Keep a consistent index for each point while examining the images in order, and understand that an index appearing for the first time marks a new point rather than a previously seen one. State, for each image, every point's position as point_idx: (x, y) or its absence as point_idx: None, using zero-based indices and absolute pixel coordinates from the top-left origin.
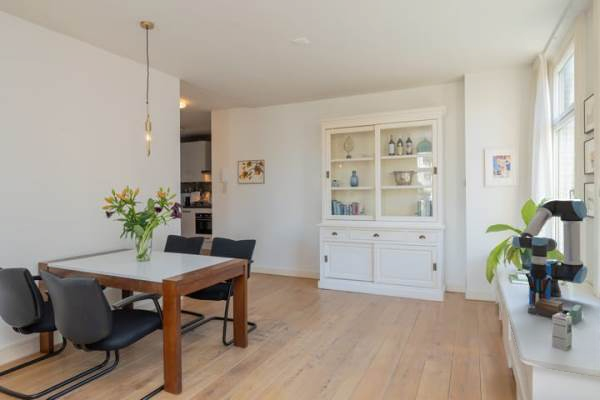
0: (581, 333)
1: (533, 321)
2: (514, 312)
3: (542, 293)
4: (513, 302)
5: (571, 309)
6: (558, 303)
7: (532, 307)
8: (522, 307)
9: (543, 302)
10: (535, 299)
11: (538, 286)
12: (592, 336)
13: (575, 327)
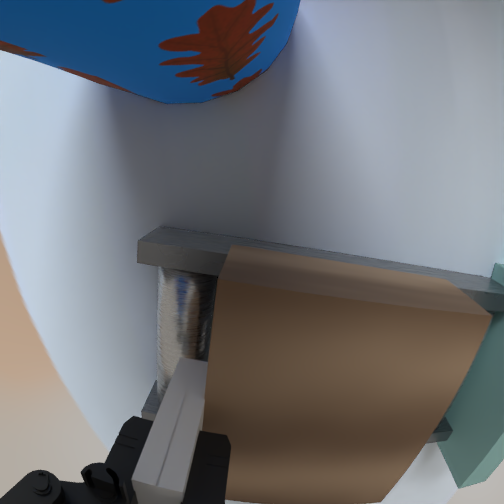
0: (421, 499)
1: (229, 500)
2: (93, 418)
3: (188, 37)
4: (2, 141)
5: (467, 479)
6: (426, 417)
7: (164, 385)
8: (77, 256)
9: (263, 474)
10: (128, 90)
11: (13, 13)
12: (448, 496)
13: (426, 464)
